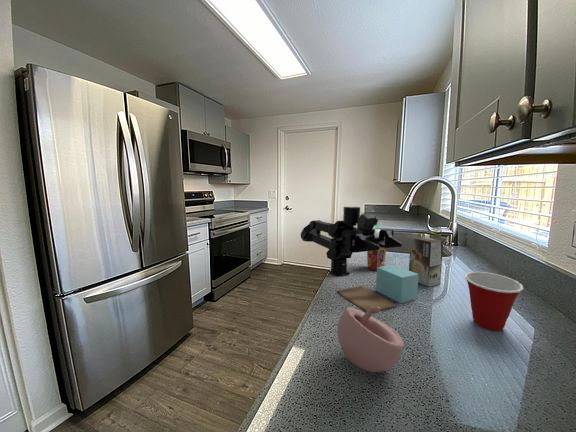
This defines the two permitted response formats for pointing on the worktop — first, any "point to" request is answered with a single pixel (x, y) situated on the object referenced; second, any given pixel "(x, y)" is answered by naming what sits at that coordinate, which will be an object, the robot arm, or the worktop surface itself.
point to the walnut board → (365, 298)
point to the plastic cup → (491, 298)
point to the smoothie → (376, 255)
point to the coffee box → (426, 259)
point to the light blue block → (397, 283)
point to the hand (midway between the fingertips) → (390, 246)
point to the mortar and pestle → (368, 340)
